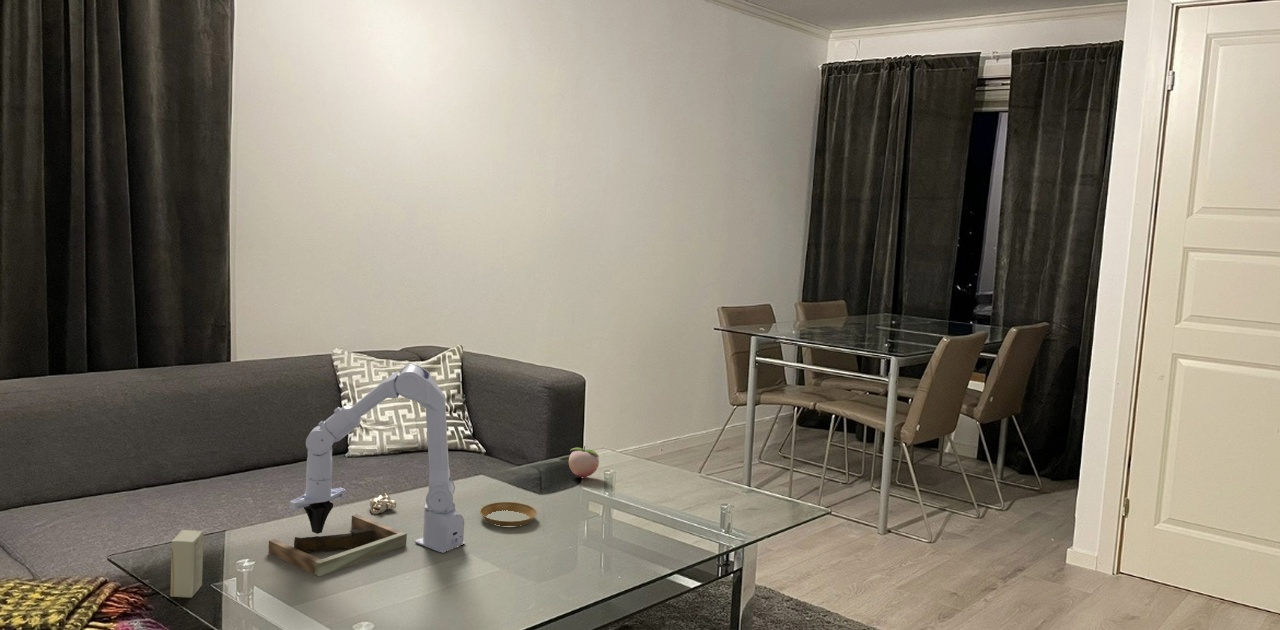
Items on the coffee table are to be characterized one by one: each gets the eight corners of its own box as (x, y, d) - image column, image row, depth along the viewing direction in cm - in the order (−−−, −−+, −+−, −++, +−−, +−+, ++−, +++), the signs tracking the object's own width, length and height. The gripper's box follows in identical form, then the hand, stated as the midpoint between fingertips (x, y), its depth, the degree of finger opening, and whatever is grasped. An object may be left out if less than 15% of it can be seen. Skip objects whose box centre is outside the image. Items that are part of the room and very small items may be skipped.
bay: (406, 545, 236) (406, 533, 235) (319, 576, 215) (319, 563, 215) (356, 525, 246) (356, 514, 245) (268, 553, 225) (268, 540, 225)
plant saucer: (468, 523, 254) (468, 513, 254) (498, 507, 268) (498, 497, 267) (518, 535, 249) (519, 525, 248) (546, 518, 262) (546, 508, 262)
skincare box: (181, 584, 206) (182, 528, 204) (203, 585, 206) (204, 529, 205) (169, 597, 200) (170, 540, 198) (192, 598, 200) (193, 541, 198)
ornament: (391, 516, 254) (392, 503, 254) (365, 514, 254) (365, 500, 254) (399, 506, 262) (400, 493, 262) (374, 504, 262) (374, 490, 262)
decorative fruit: (563, 480, 294) (565, 448, 292) (570, 472, 302) (572, 440, 300) (594, 484, 292) (596, 452, 291) (600, 476, 300) (602, 444, 299)
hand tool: (294, 557, 225) (295, 538, 224) (293, 550, 228) (293, 531, 228) (379, 551, 232) (380, 532, 231) (377, 544, 236) (377, 526, 235)
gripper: (333, 466, 241) (331, 520, 243) (281, 479, 229) (280, 535, 231) (352, 473, 237) (350, 527, 239) (301, 486, 225) (299, 543, 227)
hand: (317, 532), depth 234 cm, fingers closed
